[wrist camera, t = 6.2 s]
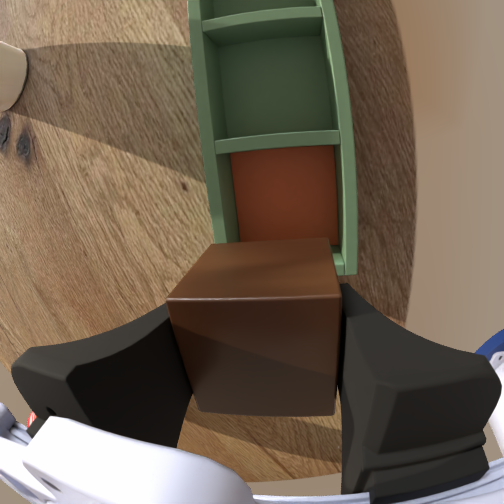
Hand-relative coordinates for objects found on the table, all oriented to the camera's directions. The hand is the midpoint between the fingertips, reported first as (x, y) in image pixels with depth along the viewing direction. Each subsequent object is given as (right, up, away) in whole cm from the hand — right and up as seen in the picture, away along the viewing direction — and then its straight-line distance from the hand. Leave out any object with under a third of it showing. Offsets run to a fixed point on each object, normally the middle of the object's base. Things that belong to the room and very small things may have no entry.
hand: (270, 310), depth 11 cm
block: (0, 0, +1) cm, 1 cm away
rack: (0, +21, +1) cm, 21 cm away
